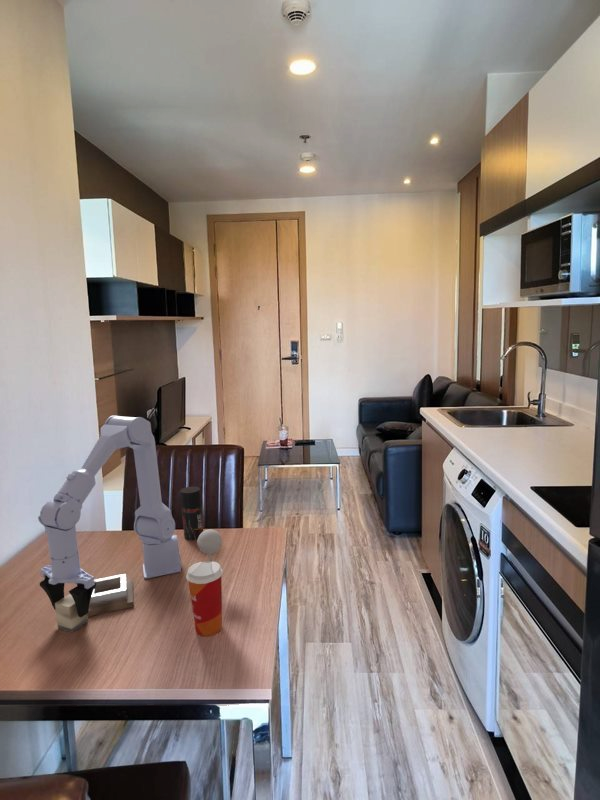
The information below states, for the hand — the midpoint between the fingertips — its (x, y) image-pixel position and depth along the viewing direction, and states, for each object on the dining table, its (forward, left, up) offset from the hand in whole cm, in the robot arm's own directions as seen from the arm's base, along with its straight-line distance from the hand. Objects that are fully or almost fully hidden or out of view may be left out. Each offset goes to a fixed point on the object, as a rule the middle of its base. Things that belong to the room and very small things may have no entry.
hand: (71, 611), depth 113 cm
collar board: (-8, -8, -3) cm, 11 cm away
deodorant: (-32, -36, -4) cm, 48 cm away
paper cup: (-28, +14, -4) cm, 32 cm away
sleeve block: (0, 0, -3) cm, 3 cm away
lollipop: (-32, -3, -4) cm, 32 cm away
